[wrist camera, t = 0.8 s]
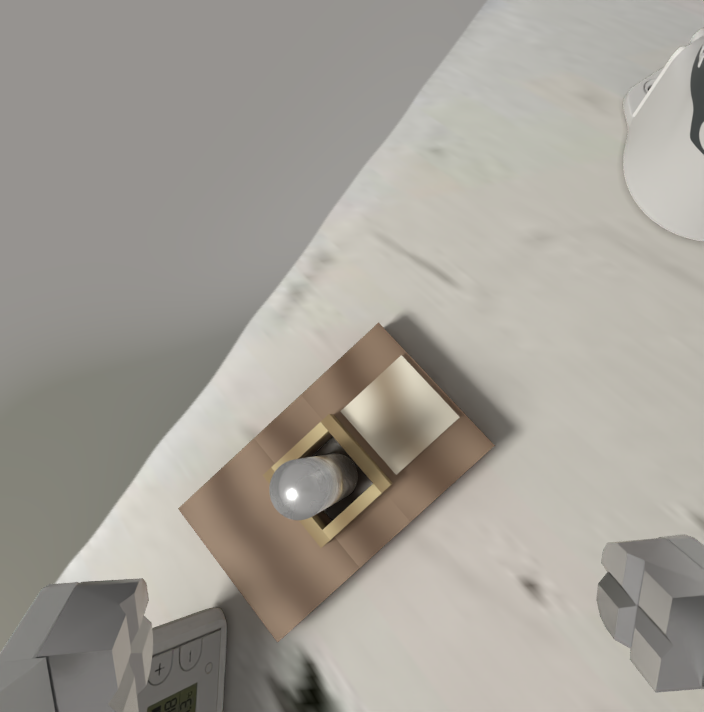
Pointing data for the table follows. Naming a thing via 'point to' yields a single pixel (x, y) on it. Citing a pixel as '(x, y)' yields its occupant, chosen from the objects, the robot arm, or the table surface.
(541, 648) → the table surface
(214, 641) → the digital clock
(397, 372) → the wooden peg board
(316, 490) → the steel pin
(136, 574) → the table surface
